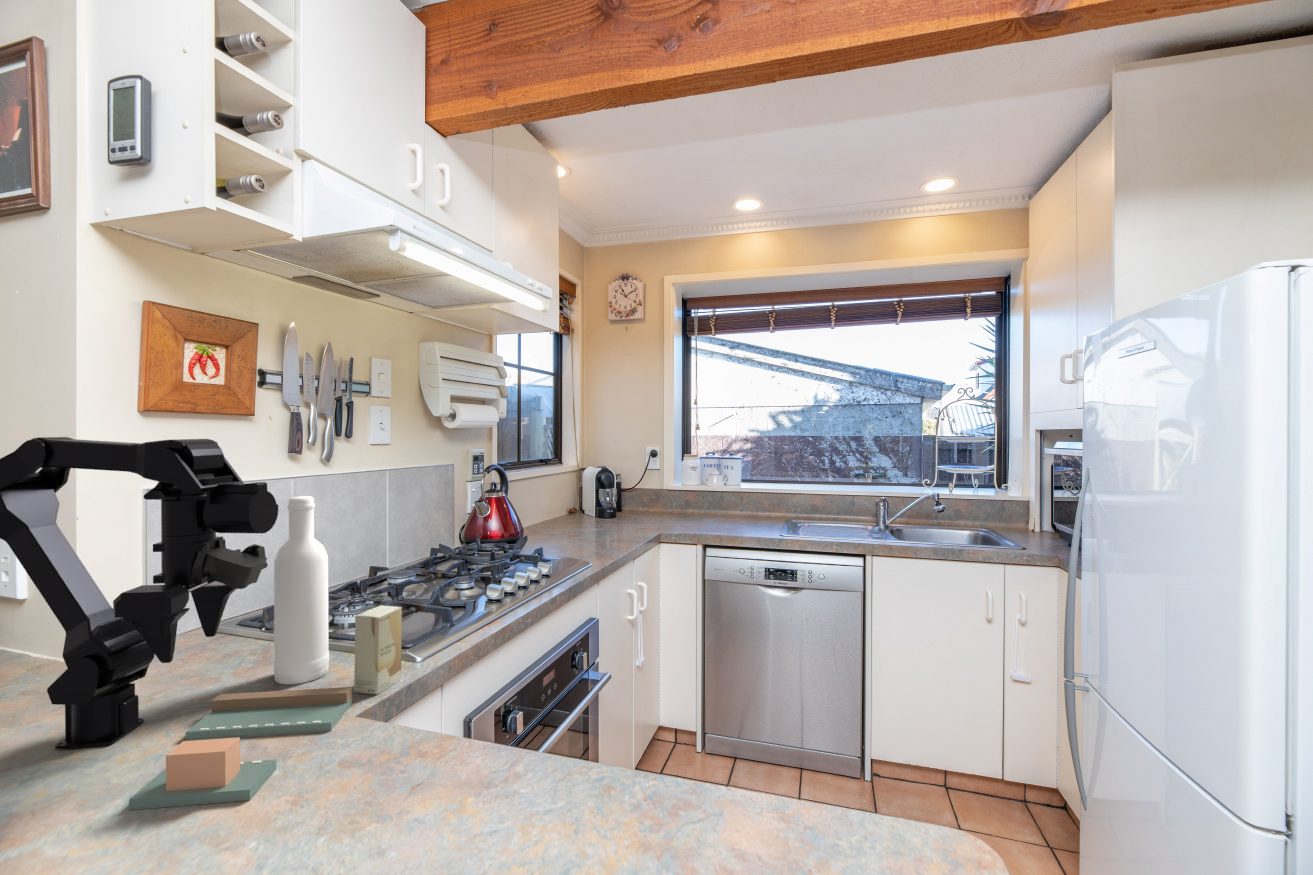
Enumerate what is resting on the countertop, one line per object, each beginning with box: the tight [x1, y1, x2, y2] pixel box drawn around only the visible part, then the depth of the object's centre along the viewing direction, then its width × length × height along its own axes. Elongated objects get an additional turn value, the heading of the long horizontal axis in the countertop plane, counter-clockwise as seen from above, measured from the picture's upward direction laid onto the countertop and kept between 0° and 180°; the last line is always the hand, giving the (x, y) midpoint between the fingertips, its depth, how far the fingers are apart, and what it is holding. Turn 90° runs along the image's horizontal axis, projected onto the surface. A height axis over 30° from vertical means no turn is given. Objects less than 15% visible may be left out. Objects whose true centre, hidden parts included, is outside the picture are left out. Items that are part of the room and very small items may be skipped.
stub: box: [128, 737, 277, 811], centre depth 67 cm, size 12×6×5 cm, turn 99°
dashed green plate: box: [185, 686, 353, 741], centre depth 83 cm, size 18×8×3 cm, turn 99°
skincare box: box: [353, 604, 403, 695], centre depth 94 cm, size 6×4×12 cm
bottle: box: [273, 495, 330, 686], centre depth 98 cm, size 8×8×30 cm
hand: (189, 648), depth 78 cm, fingers open, 9 cm apart
